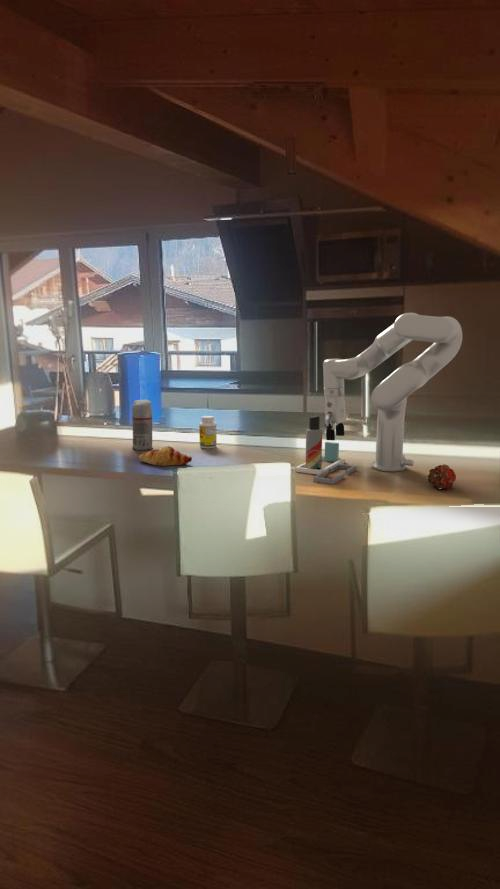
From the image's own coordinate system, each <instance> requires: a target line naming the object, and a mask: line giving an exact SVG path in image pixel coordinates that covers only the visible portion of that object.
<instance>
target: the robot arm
mask: <svg viewBox="0 0 500 889" xmlns="http://www.w3.org/2000/svg"><path fill="white" fill-rule="evenodd" d="M413 341H418V342H419V341H420V342H427V343H432V344H430V346H429V347H428V348H426V349H425V350H424V351H422V353H421V354H419V355H418V356H417V357H416V358H415V359H413V360H412V361H409V362H407V363H406V362H405V363H404V364H402V365H401V366H399V367H398V368H396V369H395V370H394V371H393V372H392V373H391V374H389V375H388V376H387V377H386V378H385V379H383V380H382V381H381V382H380V383H379V384H377V385H376V387H375V388H374V389H373V390H372V392H371V403H372V406H374V408H375V409H377V421H376V424H377V425H376V440H375V441H376V443H375V461H373V462H371V464H370V466H371V468H372V469H374V470H376V471H383V472H401V471H405V470H406V469H407V466H408V467H414V465H415V462H414V460H413V459H407V458H406V457H405V455H404V452H403V451H404V450H403V449H404V434H405V431H404V430H405V418H406V417H405V416H406V415H405V414H406V409H407V401H408V397H409V396H410V395H411V394H413V393H414V392H416V391H417V390H418V389H420V388H422V387H423V386H424V385H426V383H427V382H428V381H429V380H430V379H432V378H433V377H434V376H435V375H436V374H437V373H439V371H441V370H442V369H443V368H444V367H445V366H447V365H448V364H449V363H450V362H451V361H452V360H453V359H454V358H455V357H456V355H457V354H458V352H459V351H460V349H461V347H462V343H463V329H462V326H461V324H460V323H459V321H458V320H457V319H456V318H454V317H453V316H433V315H424V314H423V315H422V314H418V313H416V312H405V313H402V314H400V315H399V316H398V317H396V319H395V321H394V322H393V323H392V324H391V325H390V326H388V327H387V328H386V329H385V330H383V331H382V332H380V333H379V334H378V335H377V336H376V337H375V339H374V341H373V342H372V344H370V346H369V347H367V348H366V349H365V350H364V351H362V352H361V353H360V354H358V355H357V356H355V357H351V358H345V359H341V358H328V359H325V360H324V361H323V363H322V369H323V370H322V372H323V374H322V375H323V397H324V398H325V399H324V400H325V402H324V425H325V426H324V427H325V438H326V439H325V440H326V441H336V437H337V436H339V437H344V436H345V421H346V420H347V413H346V412H347V410H346V401H345V400H346V399H345V380H355V379H358V378H362V377H363V376H365V375H367V374H368V373H369V372H371V371H373V370H374V369H375V368H377V367H378V366H380V365H381V364H382V363H383V362H384V361H386V360H387V359H389V358H390V357H391V356H392V355H394V354H396V352H398V351H399V350H401V349H402V348H404V347H405V346H406V345H407V344H410V342H413Z"/></svg>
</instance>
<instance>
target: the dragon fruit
mask: <svg viewBox="0 0 500 889" xmlns="http://www.w3.org/2000/svg"><path fill="white" fill-rule="evenodd" d="M427 477H428V478H427V482H428V483H429V484H431V485H432V486H433V487H434V486H435V487H434V488H436V487H437V488H444V489H445V488H446V489H450V488H451V489H453V486H454V482H455V481H456V479H457V475H456V473H455V471H454V470H453V469H452V468H451V467H450V466H449V465H447V464H444V463H442V465H441V464H439V465H437V466H435V467H434V468H431V469H429V473H428V475H427ZM437 488H436V489H437Z"/></svg>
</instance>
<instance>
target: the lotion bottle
mask: <svg viewBox="0 0 500 889" xmlns="http://www.w3.org/2000/svg"><path fill="white" fill-rule="evenodd" d="M320 423H321V417H320V416H319V415H314V416H310V417H309V418H308V428H307V429H306V430H305V431H306V432H305V462H306V463H305V462H304V463H305V468H309V469H317V470H322V465H323V464H322V462H323V460H322V456H323V455H322V454H323V429H321V427H320V425H321V424H320Z"/></svg>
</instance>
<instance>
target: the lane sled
mask: <svg viewBox="0 0 500 889" xmlns="http://www.w3.org/2000/svg"><path fill="white" fill-rule="evenodd" d="M339 448H340V443H338V442H331V441H326V442H324V455H322V461H325V462H333V463H331V464H329V465H328V466H326V467H324V468H323V469H322V468H321V470H317V469H309V468H305V463H306V461H305V462H304V463H302V464H299V465H297V466H295V468H294V471H295V470H296V473H304V474H310V475H316V476H317V475H319V474H320V473H322V472H324V471H327V473H329V468H331V467H332V466H334V465H336V464H344V463H346V458H345V457H340V456H339V455H340V454H339V451H340V450H339Z"/></svg>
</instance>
